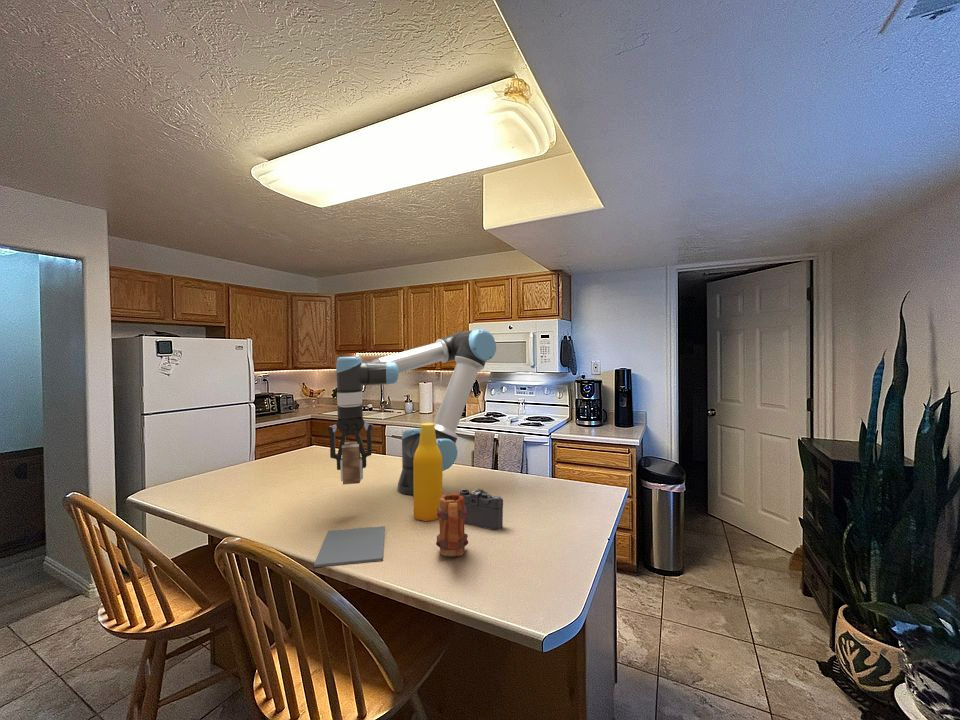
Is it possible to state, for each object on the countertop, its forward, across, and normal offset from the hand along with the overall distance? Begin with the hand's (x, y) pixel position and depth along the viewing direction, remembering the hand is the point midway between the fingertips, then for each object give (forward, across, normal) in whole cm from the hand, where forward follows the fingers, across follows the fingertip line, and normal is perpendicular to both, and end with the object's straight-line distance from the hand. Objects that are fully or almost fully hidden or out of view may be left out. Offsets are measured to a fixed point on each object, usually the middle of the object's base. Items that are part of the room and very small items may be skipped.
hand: (352, 478), depth 129 cm
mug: (+12, -27, +33) cm, 45 cm away
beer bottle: (+13, -23, +4) cm, 27 cm away
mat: (+12, -2, +21) cm, 24 cm away
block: (+1, 0, 0) cm, 1 cm away
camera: (+13, -40, +12) cm, 44 cm away
